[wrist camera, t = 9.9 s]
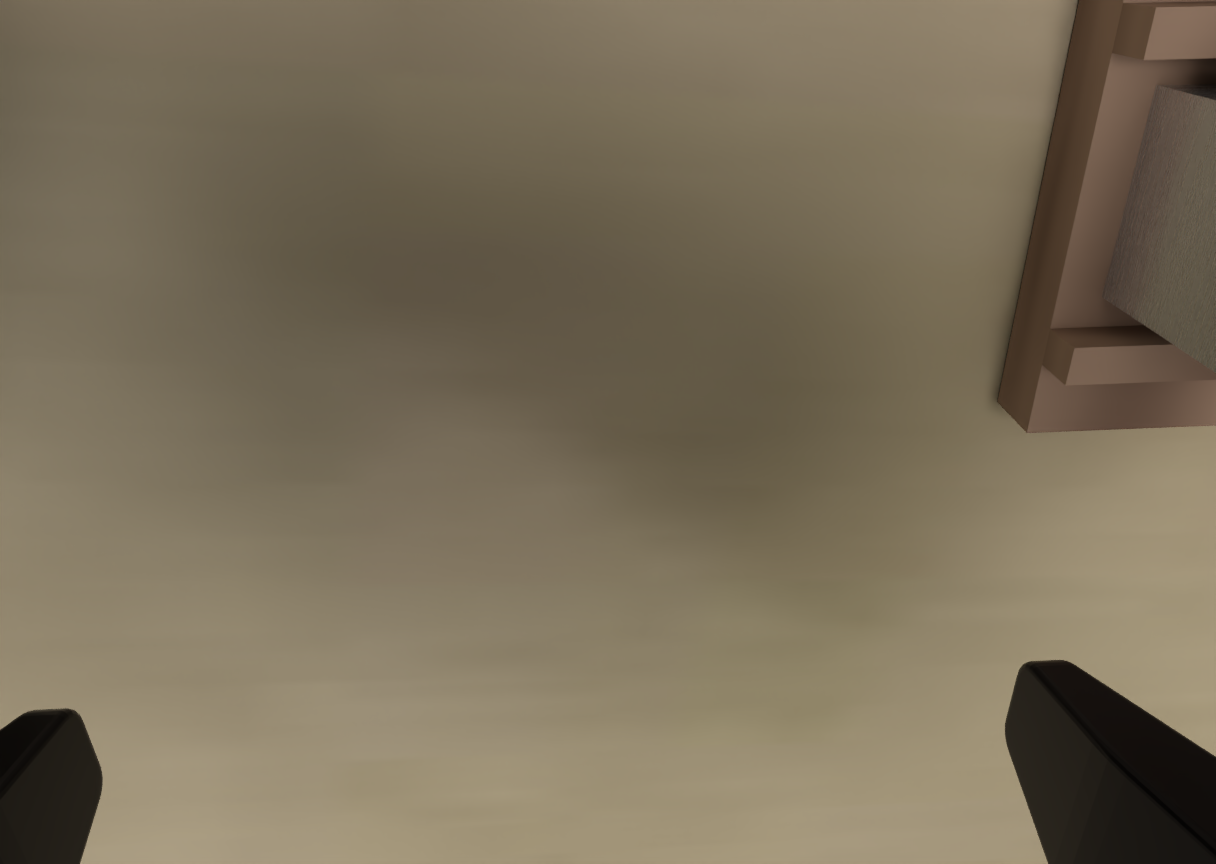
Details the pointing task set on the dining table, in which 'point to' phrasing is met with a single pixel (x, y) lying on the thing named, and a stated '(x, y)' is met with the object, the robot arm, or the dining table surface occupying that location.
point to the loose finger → (1172, 224)
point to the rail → (1104, 233)
